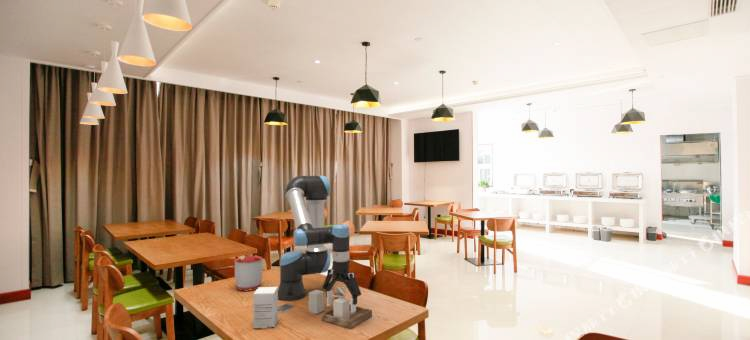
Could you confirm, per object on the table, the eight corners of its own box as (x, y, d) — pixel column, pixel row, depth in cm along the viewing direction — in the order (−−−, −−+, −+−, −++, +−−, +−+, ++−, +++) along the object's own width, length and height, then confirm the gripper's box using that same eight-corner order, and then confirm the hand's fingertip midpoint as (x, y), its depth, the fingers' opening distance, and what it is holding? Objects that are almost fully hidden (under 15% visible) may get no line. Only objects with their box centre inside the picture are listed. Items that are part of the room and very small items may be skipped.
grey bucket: (254, 281, 214) (254, 249, 215) (267, 288, 202) (267, 253, 202) (228, 287, 204) (228, 253, 204) (240, 294, 191) (240, 258, 191)
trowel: (267, 319, 158) (267, 314, 158) (258, 316, 161) (258, 311, 161) (294, 307, 171) (294, 303, 171) (285, 305, 174) (285, 301, 174)
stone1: (333, 321, 153) (333, 300, 154) (340, 317, 158) (340, 297, 158) (342, 323, 151) (342, 302, 151) (349, 319, 155) (349, 299, 155)
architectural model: (342, 304, 176) (342, 289, 177) (330, 303, 179) (330, 288, 179) (345, 302, 180) (345, 287, 180) (333, 300, 182) (332, 286, 182)
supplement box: (258, 320, 156) (257, 286, 157) (278, 319, 157) (278, 286, 157) (252, 329, 147) (252, 293, 148) (274, 328, 148) (274, 292, 148)
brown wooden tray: (321, 320, 155) (321, 314, 155) (344, 309, 169) (344, 303, 169) (350, 329, 146) (350, 322, 146) (371, 316, 160) (371, 309, 160)
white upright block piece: (308, 311, 166) (308, 292, 166) (316, 308, 170) (316, 289, 170) (316, 313, 163) (316, 294, 163) (323, 310, 167) (323, 291, 168)
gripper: (314, 258, 159) (314, 305, 158) (358, 265, 145) (358, 317, 144) (325, 255, 165) (326, 300, 164) (368, 262, 151) (369, 311, 150)
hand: (341, 308), depth 154 cm, fingers open, 13 cm apart
